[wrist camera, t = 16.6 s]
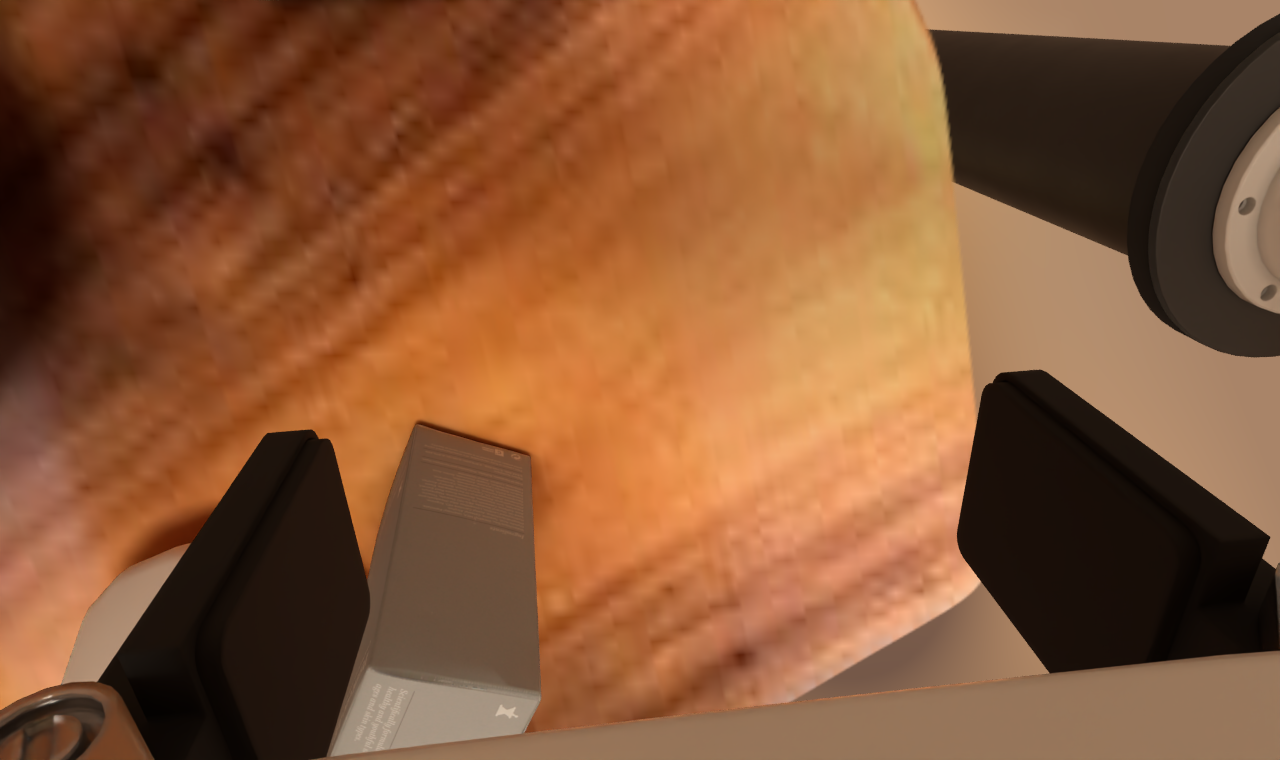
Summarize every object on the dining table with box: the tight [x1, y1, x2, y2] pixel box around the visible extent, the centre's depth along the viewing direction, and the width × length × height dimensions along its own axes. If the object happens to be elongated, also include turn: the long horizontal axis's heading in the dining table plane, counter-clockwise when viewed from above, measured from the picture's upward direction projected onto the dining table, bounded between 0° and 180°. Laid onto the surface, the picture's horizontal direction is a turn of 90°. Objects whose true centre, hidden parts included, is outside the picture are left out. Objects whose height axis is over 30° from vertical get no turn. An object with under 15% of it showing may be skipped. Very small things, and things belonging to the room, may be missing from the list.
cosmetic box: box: [326, 424, 541, 757], centre depth 34 cm, size 8×7×16 cm
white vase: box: [61, 543, 191, 685], centre depth 36 cm, size 13×13×14 cm
